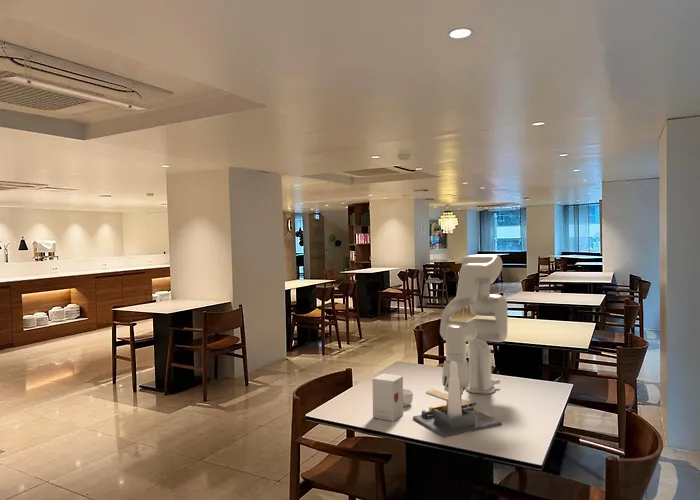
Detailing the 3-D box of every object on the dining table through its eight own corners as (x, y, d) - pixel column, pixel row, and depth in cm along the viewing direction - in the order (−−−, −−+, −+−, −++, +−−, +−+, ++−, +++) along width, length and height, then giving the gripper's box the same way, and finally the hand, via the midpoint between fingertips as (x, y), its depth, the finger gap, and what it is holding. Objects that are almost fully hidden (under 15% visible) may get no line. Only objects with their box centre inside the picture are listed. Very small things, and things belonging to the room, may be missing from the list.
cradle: (467, 408, 193) (467, 396, 193) (501, 424, 175) (501, 410, 175) (413, 419, 182) (412, 405, 182) (443, 437, 165) (443, 422, 165)
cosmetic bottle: (453, 427, 171) (451, 364, 171) (442, 421, 176) (441, 360, 176) (467, 424, 173) (465, 362, 173) (456, 418, 179) (455, 358, 179)
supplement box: (393, 421, 180) (392, 381, 180) (372, 417, 185) (371, 378, 185) (404, 414, 188) (403, 375, 188) (383, 410, 193) (382, 372, 192)
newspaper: (425, 394, 214) (425, 390, 214) (437, 391, 218) (437, 387, 218) (465, 409, 194) (465, 404, 194) (478, 405, 198) (477, 401, 198)
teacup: (416, 406, 197) (416, 393, 197) (399, 408, 194) (398, 395, 194) (405, 399, 206) (405, 386, 206) (388, 401, 204) (388, 388, 204)
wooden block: (451, 410, 188) (450, 397, 188) (453, 411, 186) (453, 398, 186) (429, 414, 184) (428, 401, 184) (431, 415, 182) (431, 402, 182)
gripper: (465, 353, 194) (466, 399, 194) (434, 357, 188) (435, 405, 188) (478, 357, 187) (478, 404, 187) (445, 361, 181) (446, 410, 181)
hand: (457, 404), depth 188 cm, fingers closed
